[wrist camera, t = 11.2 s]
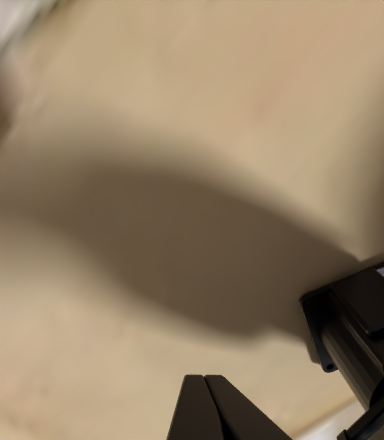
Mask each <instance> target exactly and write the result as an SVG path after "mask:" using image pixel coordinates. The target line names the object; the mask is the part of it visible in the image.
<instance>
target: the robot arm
mask: <svg viewBox="0 0 384 440" xmlns="http://www.w3.org/2000/svg"><path fill="white" fill-rule="evenodd" d="M308 301H311V302H310V303H309V304H306V303H307V302H308ZM299 302H300V306H301V309H302V312H303V315H304V318H305V321H306V324H307V327H308V330H309V333H310V336H311V339H312V342H313V345H314V348H315V351H316V354H317V356H318V359H319V362H320V365H321V367H322V369H323V370H324V371H325V372H327V373H330V372H333V371H335V370H338V369H339V371H340V372H341V374H342V376H343V377H344V379H345V380H346V382H347V383H348V385H349V386H350V388H351V390H352V391H353V393H354V394H355V396H356V397H357V399H358V400H359V402H360V404H361V405H362V407H363V408H364V410H365V411H366V412H365V413H364V414H363V415H362V416H361V417H360V418H359V419H358V420H357V421H356V422H354V423H353V424H352V425H351V426H350V428H348V430H343V431H342V432H341V433H340V434H339V435H338V436H337V440H384V262H383V263H381V264H378V265H376V266H373V267H371V268H368V269H366V270H364V271H361V272H359V273H356V274H354V275H351V276H349V277H346V278H344V279H341V280H339V281H336V282H334V283H332V284H329V285H327V286H324V287H322V288H319V289H317V290H314V291H312V292H309V293H307V294H305V295H303V296H302V297H301V298H300V301H299ZM166 440H292V439H291V438H290V437H289V436H288V435H287V434H286V433H285V432H284V431H283V430H281V429H280V428H279V427H278V426H277V425H276V424H275V423H274V422H273V421H272V420H271V419H269V418H268V417H267V416H266V415H265V414H264V413H263V412H262V411H261V410H260V409H259V408H257V407H256V406H255V405H254V404H253V403H252V402H251V401H250V400H249V399H248V398H247V397H245V396H244V395H243V394H242V393H241V392H240V391H239V390H238V389H237V388H236V387H234V386H233V385H232V384H231V383H230V382H229V381H228V380H227V379H226V378H225V377H223V376H222V375H205V376H204V377H203V376H202V375H185V376H184V379H183V383H182V386H181V390H180V393H179V397H178V400H177V404H176V407H175V411H174V415H173V418H172V422H171V425H170V429H169V432H168V436H167V439H166Z"/></svg>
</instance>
